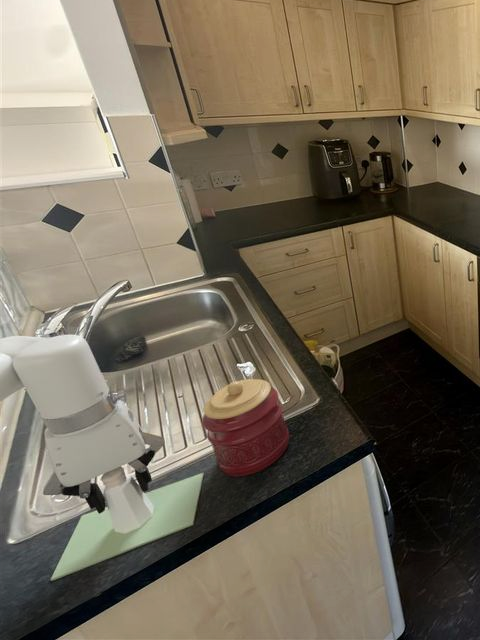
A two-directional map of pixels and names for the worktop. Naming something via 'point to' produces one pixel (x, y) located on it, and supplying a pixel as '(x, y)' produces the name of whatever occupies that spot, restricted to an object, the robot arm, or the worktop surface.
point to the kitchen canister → (245, 427)
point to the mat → (103, 542)
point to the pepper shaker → (125, 501)
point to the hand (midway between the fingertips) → (124, 495)
